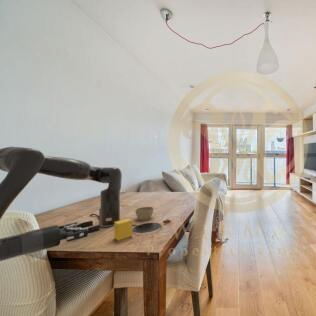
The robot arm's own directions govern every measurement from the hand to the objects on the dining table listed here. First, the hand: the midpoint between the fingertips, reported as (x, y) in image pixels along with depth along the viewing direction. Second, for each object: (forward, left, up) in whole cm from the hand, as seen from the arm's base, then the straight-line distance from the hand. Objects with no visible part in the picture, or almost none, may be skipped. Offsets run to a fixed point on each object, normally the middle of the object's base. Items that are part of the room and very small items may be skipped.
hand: (95, 225), depth 77 cm
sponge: (+4, +10, -10) cm, 15 cm away
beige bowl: (-6, +34, -11) cm, 36 cm away
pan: (+2, +23, -10) cm, 25 cm away
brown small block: (+11, +33, -10) cm, 36 cm away
